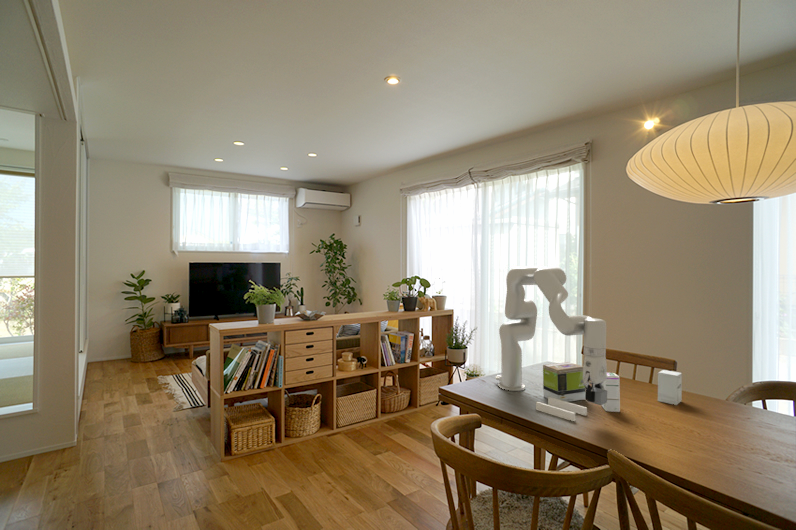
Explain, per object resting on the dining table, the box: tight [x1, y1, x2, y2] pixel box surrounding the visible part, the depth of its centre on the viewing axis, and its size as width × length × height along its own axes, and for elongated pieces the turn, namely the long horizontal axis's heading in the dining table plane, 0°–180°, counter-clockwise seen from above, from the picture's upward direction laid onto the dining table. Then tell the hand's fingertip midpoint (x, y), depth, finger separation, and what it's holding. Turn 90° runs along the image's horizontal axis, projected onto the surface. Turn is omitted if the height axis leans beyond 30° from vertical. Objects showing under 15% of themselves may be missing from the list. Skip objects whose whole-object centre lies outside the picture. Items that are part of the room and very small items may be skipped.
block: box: [586, 387, 607, 406], centre depth 151 cm, size 5×5×4 cm
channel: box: [535, 397, 588, 422], centre depth 162 cm, size 16×10×3 cm, turn 39°
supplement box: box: [657, 369, 683, 406], centre depth 175 cm, size 7×7×13 cm
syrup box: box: [600, 371, 621, 413], centre depth 165 cm, size 6×6×14 cm
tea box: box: [542, 361, 586, 403], centre depth 179 cm, size 15×10×15 cm
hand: (593, 398), depth 152 cm, fingers closed on block, 5 cm apart
